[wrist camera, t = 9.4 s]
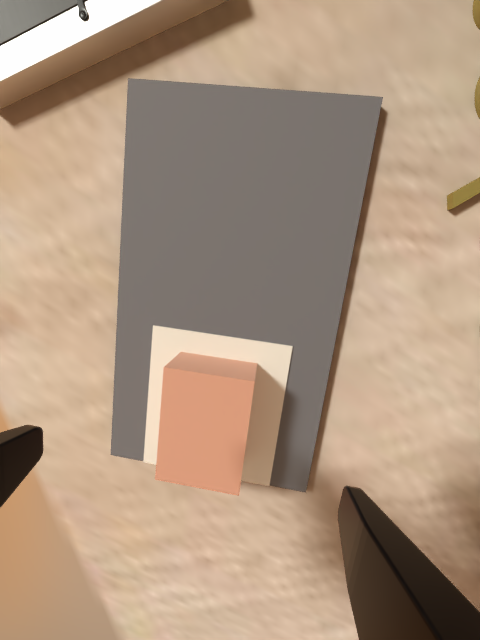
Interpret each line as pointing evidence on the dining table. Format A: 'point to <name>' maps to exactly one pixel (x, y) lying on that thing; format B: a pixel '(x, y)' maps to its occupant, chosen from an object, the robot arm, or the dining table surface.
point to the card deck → (204, 421)
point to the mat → (237, 254)
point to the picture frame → (76, 36)
